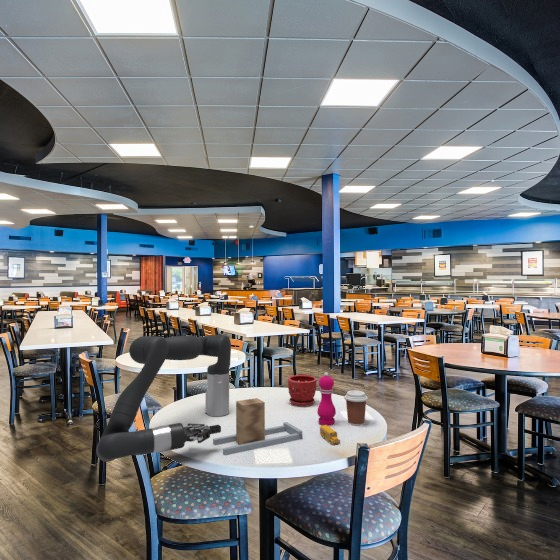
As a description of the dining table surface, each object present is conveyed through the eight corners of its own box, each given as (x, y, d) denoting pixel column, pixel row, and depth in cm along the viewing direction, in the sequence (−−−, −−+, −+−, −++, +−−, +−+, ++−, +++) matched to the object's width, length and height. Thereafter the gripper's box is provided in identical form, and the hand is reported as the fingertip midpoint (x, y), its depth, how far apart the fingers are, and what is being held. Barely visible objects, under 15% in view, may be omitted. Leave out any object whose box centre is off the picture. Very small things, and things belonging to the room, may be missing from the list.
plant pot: (282, 404, 187) (282, 378, 187) (299, 398, 197) (299, 373, 197) (305, 409, 178) (304, 382, 178) (322, 403, 188) (322, 377, 188)
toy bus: (332, 446, 138) (332, 434, 138) (319, 436, 147) (319, 425, 147) (340, 444, 139) (340, 433, 139) (327, 435, 148) (327, 424, 148)
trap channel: (224, 456, 129) (224, 446, 129) (213, 444, 139) (213, 435, 139) (302, 439, 143) (302, 430, 143) (286, 430, 153) (286, 422, 153)
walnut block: (243, 448, 135) (243, 405, 135) (236, 442, 140) (236, 401, 140) (264, 443, 139) (264, 402, 139) (257, 437, 144) (257, 398, 144)
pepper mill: (316, 420, 164) (316, 370, 164) (334, 420, 164) (334, 370, 164) (318, 426, 157) (317, 374, 157) (336, 426, 157) (336, 374, 157)
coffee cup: (343, 419, 165) (343, 389, 165) (366, 419, 164) (366, 389, 164) (345, 426, 156) (344, 395, 156) (369, 427, 155) (369, 395, 155)
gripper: (172, 432, 120) (227, 422, 129) (162, 419, 132) (213, 411, 140) (172, 457, 120) (227, 446, 128) (162, 442, 132) (213, 433, 140)
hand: (220, 428), depth 134 cm, fingers closed
